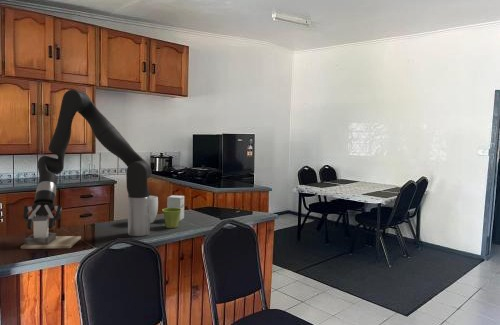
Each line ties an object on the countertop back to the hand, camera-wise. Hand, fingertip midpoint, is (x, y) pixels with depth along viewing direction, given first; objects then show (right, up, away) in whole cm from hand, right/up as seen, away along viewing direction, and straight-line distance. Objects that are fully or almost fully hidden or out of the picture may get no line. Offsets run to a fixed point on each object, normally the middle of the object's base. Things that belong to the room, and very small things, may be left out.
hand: (39, 228), depth 151 cm
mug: (+30, -5, +44) cm, 53 cm away
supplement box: (+44, -5, +53) cm, 69 cm away
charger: (-1, -6, +2) cm, 6 cm away
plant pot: (+45, -6, +37) cm, 58 cm away
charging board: (+3, -7, +4) cm, 8 cm away
